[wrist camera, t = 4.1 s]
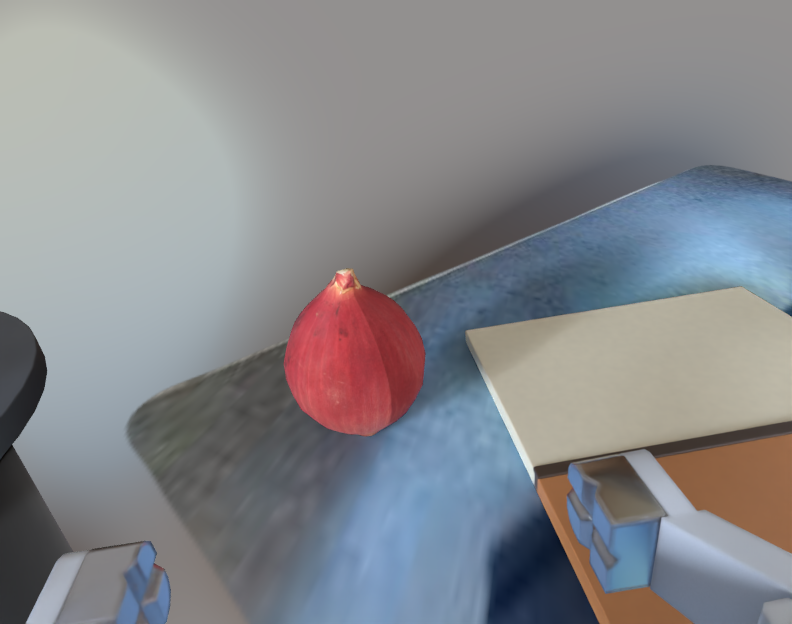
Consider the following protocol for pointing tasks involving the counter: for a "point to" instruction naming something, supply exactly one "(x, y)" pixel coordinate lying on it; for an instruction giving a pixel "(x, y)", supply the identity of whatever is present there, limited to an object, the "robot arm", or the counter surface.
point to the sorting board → (653, 412)
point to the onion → (354, 358)
